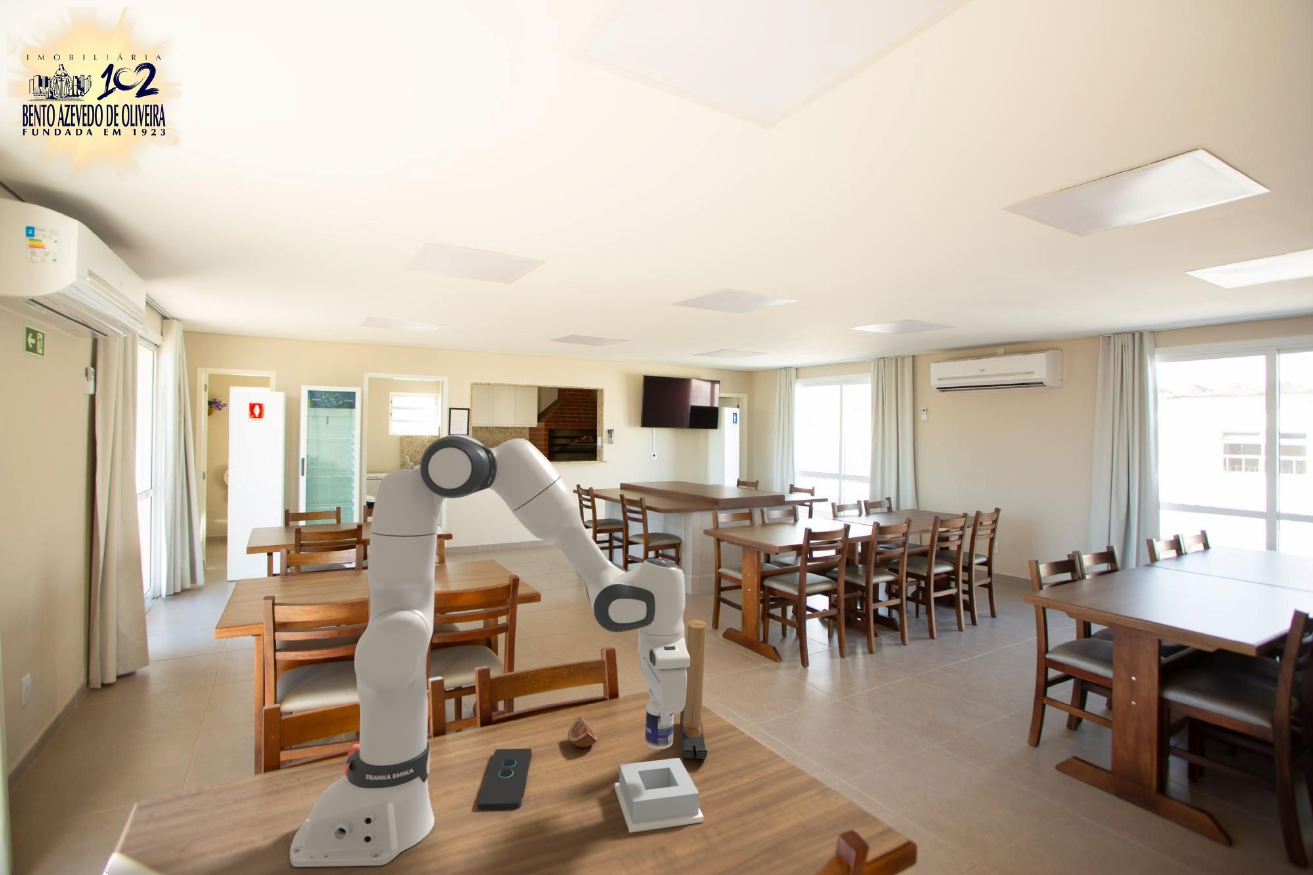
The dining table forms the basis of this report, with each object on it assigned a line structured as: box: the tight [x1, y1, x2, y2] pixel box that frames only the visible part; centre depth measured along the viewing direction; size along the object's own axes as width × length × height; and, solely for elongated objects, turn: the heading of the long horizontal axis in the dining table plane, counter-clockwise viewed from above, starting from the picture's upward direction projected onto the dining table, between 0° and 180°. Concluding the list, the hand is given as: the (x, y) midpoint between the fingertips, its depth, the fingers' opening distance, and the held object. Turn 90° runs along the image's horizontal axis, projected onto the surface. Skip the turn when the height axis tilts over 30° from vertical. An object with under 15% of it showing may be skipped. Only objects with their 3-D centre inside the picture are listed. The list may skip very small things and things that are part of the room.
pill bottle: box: [644, 691, 675, 750], centre depth 116 cm, size 5×5×10 cm
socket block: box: [614, 757, 705, 834], centre depth 116 cm, size 14×14×5 cm
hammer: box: [679, 619, 708, 760], centre depth 137 cm, size 20×5×30 cm, turn 1°
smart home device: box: [477, 748, 533, 811], centre depth 123 cm, size 8×2×20 cm
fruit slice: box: [567, 716, 598, 748], centre depth 137 cm, size 8×7×5 cm
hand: (659, 715), depth 116 cm, fingers closed on pill bottle, 5 cm apart
